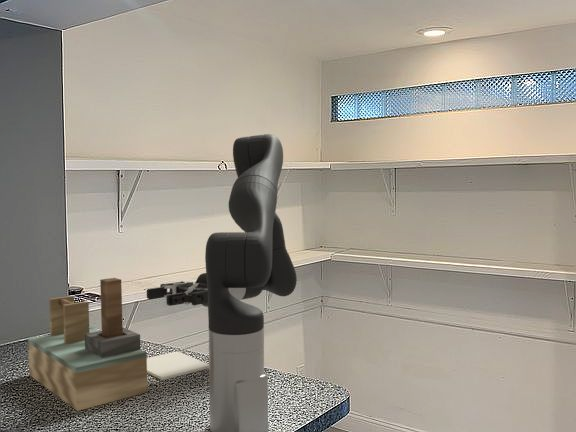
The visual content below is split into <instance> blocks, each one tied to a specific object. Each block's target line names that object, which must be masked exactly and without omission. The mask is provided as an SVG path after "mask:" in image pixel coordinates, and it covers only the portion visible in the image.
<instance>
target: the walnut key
mask: <svg viewBox="0 0 576 432" xmlns="http://www.w3.org/2000/svg"><path fill="white" fill-rule="evenodd" d="M99 283H100V315H101V316H100V319H101V322H100V323H101V331H102V337H104V338H106V339H107V338H112V337H117V336H123V328H124V327H123V301H122V300H123V298H122V296H123V295H122V293H123V290H122V279H121V278H118V277H117V278H116V277H112V278H111V277H110V278H103V279H100V282H99ZM122 327H123V328H122Z"/></svg>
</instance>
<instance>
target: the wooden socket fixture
mask: <svg viewBox="0 0 576 432" xmlns="http://www.w3.org/2000/svg"><path fill="white" fill-rule="evenodd" d="M48 300H49V302H48V303H49V305H48V306H49V331H50V333H49V334H45V335H41V336H34V337H30V338H27V345H28V367H29V368H28V369H29V370H28V372H29V376H30V377H31V378H32V379H34V380H35V381H37V382H38V383H39V384H40V385H42V386H43V387H44V388H46V389H47V390H48V391H50V392H51V393H52V394H54V395H55V396H57V397H58V398H59V399H60V400H62V401H63V402H65V404H67V405H69V406H70V407H71V408H73V409H74V410H75V411H77V412H78V411H82V410H86V409H89V408H94V407H98V406H101V405H104V404H108V403H112V402H116V401H120V400H123V399H124V400H125V399H126V398H130V397H134V396H138V395H142V394H145V393H148V373H147V358H148V357H147V355H148V354H147V351H145V350H143V349H141V334H139V333H137V332H135V331H133V330H130V329H127V328H125V327H123V326H122V328H123V336H117V337H112V338H107V339H106V338H104V337H102V330H99V329H96V328H95V327H92V326H90V308H89V307H90V306H89V305H90V303H89V301H87V300H86V301H85V300H84V301H79V302H75V296H74V295H67V296H61V297H53V298H49V299H48Z"/></svg>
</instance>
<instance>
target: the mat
mask: <svg viewBox="0 0 576 432" xmlns="http://www.w3.org/2000/svg"><path fill="white" fill-rule="evenodd" d="M207 369H208V370H209V363H206V362H204V361H201V360H199V359H197V358H195V357H192V356H189V355H187V354H185V353H182V352H180V351H173V352H169V353H164V354H160V355H155V356H151V357H147V374H149V375H151V376H153V377H155V378H157V379H158V380H160V381H165V380H169V379H173V378H176V377H180V376H184V375H188V374H192V373H195V372H199V371H200V372H201V371H204V370H207Z"/></svg>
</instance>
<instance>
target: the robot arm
mask: <svg viewBox="0 0 576 432" xmlns="http://www.w3.org/2000/svg"><path fill="white" fill-rule="evenodd" d="M232 157H233V164H234V168H235V172H236V176H237V178H236V180H235V181H234V183H233V185H232V188H231V192H230V194H229V197H228V198H229V200H228V211H229V214H230V216H231V218H232V220H233V222H234V223H235V224H236V225H237V226H238V227H239V228H240V229H241V230H242V231H243V232H242V231H237V232H233V231H231V232H229V231H226V232H221V231H220V232H213V233H212V234H210V235H209V236H208V238H207V240H206V245H205V251H204V252H205V253H204V254H205V255H204V256H205V257H204V259H205V260H204V261H205V262H204V263H205V272H203V273H200V274H199V275H198V276H197V279H196V280H195V282H194V281H186V282H185V281H182V280H181V281H178V282H169V283H168V282H167V283H161V284H160V286H159V287H152V288H148V289H146V299H148V300H155V299H161V298H162V299H163V298H164V299H165V298H166V301H165V303H166V305H167V306H168V307H169V306H170V307H171V306H177V305H183V304H184V305H192V306H198V305H201V306H203V307H207V315H208V364H209V368H208V375H209V376H208V383H209V385H208V386H209V387H208V388H209V391H208V392H209V393H208V395H209V426H210V427H209V430H210V432H268V431H269V387H268V386H269V385H268V384H269V379H268V378H269V377H268V375H266V374H265V329H264V328H265V321H264V320H265V317H264V313H263V311H262V310H261V309H260V308H259V307H257V306H254V305H252V304H249V303H246V302H244V301H242V300H248V299H253V298H256V297H258V296H260V294H262V293H263V291H267V292H269V293H272V294H274V295H276V296H278V297H287V296H290V295H291V294H292V293H293V292H294V291H295V289H296V286H297V280H298V279H297V272H296V269H295V266H294V264H293V262H292V259H291V257H290V254H289V252H288V250H287V248H286V241H285V233H284V228H283V224H282V220H281V219H280V217H279V215H278V214H277V212H276V210H277V203H278V187H279V185H278V184H279V180H280V177H281V173H282V168H283V164H284V149H283V145H282V142H281V140H280V138H279V137H278V136H276V135H275V134H270V133H265V134H257V135H250V136H243V137H238V138H236V139H235V140H234V141H233V144H232ZM168 289H169V291H168Z"/></svg>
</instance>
